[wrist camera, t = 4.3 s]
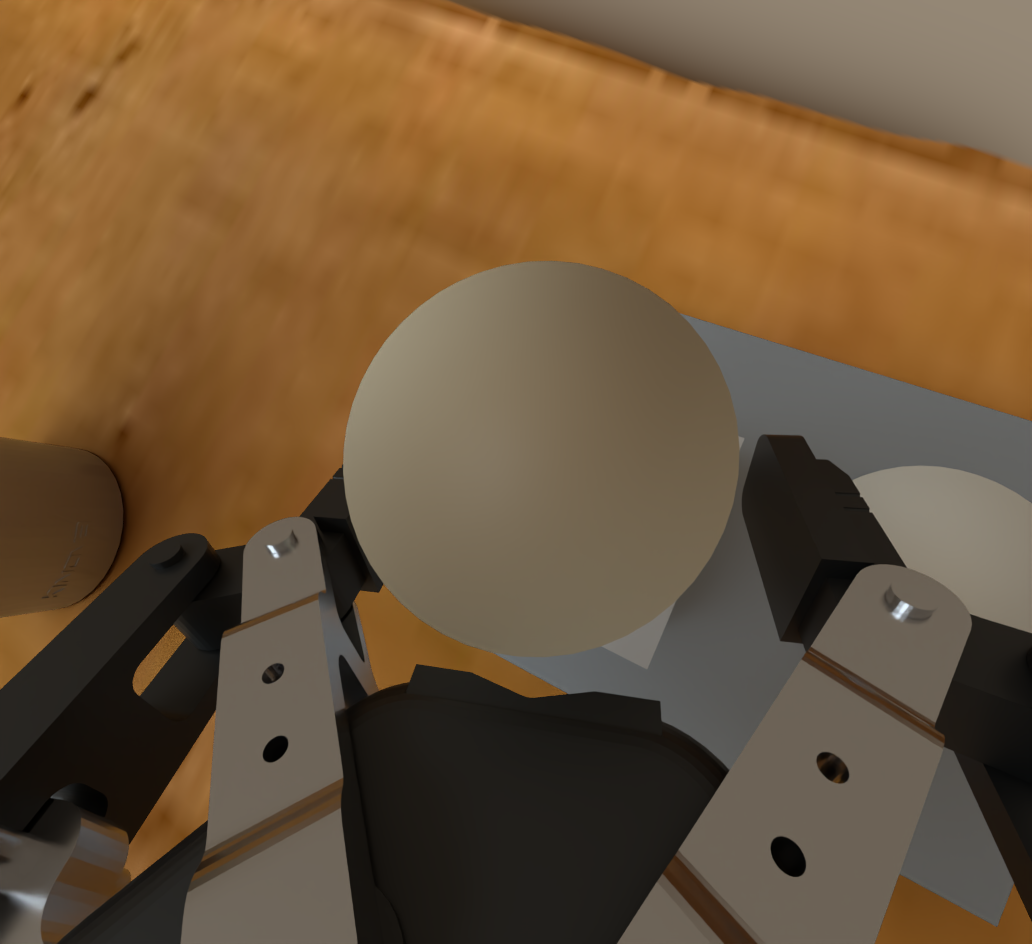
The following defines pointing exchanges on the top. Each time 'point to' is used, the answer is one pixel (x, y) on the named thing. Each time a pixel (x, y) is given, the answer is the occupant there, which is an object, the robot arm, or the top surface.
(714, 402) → the peg
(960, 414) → the board
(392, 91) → the top surface
